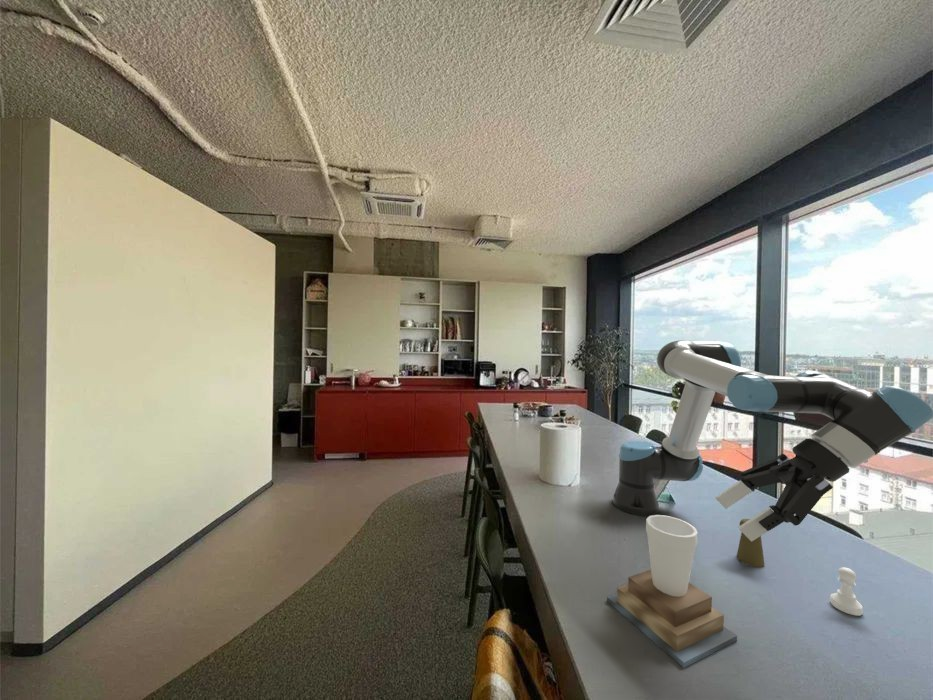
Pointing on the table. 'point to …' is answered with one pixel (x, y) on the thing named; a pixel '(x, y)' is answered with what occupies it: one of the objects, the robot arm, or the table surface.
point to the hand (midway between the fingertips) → (731, 517)
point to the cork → (750, 550)
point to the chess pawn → (846, 594)
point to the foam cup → (671, 553)
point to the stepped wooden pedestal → (673, 619)
